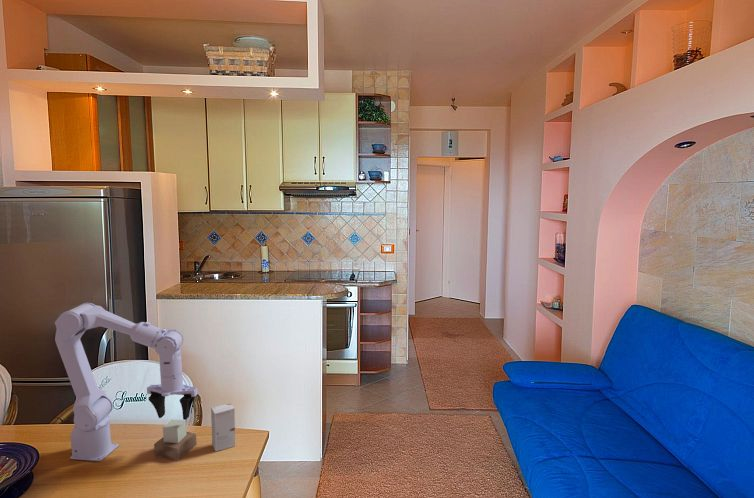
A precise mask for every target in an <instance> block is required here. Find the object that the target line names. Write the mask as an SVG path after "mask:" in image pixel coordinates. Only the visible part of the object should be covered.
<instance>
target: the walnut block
mask: <svg viewBox="0 0 754 498" xmlns="http://www.w3.org/2000/svg"><path fill="white" fill-rule="evenodd" d="M186 433H187V435H186V436H185V437H184V438H183V439H182V440H181V441H180V442H179V443H171V442H164V440H163V437H161V438H160V439H158V440H157V441H155V443H154V444H153V445H154V447H153V448H154V456H155V457H160V458H165V459H170V460H173V461H179V460H180V459H182V458H183V457H184V456H185V455H186V454H188V453H189V452H190V451H191V450H193V449H194V448H195V447H196V446H197V444H198V443H197V434H196V433H194V432H188V431H186Z"/></svg>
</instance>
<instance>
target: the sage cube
mask: <svg viewBox="0 0 754 498" xmlns="http://www.w3.org/2000/svg"><path fill="white" fill-rule="evenodd" d="M186 432H187V421H186V420H183V419H182V420H180V419H170V421H168V422H167V423H166V424H165V425H163V427H162V436H163V437H162V438H163V440H164V442H171V443H179V442H180V441H181V440H182V439H183V438H184V437H185V436H186V435H187V433H186Z"/></svg>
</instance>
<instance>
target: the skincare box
mask: <svg viewBox="0 0 754 498" xmlns="http://www.w3.org/2000/svg"><path fill="white" fill-rule="evenodd" d="M210 410H211V411H210V412H211V413H210V414H211V415H210V418H211V419H210V420H211V421H210V422H211V445H212V448H213V449H214V451H215V452H219V451H222V450H226V449H230V448H234V447H235V446H236V426H235V425H236V417H235V413H236V412H235V407H234V406H233V404H232V403H231V402H229V403H225V404H221V405H217V406H211V407H210Z"/></svg>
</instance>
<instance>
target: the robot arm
mask: <svg viewBox="0 0 754 498" xmlns="http://www.w3.org/2000/svg"><path fill="white" fill-rule="evenodd" d="M54 325H55V327H56V331H55V338H54V341H55V344H56V346H57V350H58V352H59V355H60V358H61V360H62V362H63V363H62V364H63V366H64V368H65V371H66V374H67V377H68V379H69V382H70V383H71V387H72V389H73V392H74V395H75V398H76V399H75V402H74V404H73V407H72V411H73V415H74V416H73V424H74V427H73V428H72V430H71V432H70V445H71V454H72V455H71V456H70V457H69V459H71V460H81V461H92V462H101V461H103V460H104V459H105V458H106V457H107V456H108V455H109V454H110V453H112V452H113V451H114V450H116V448H117V447H119V443H112V435H111V434H112V433H111V426H110V425H111V424H110V423H111V422H110V413H111V412H112V411H113V408H114V403H113V401H112V399H111V398H110V397H109V396H107V393H106V390H104V389H100V388H99V387H98V385H97V381H96V379H95V376H94V373H93V371H92V369H91V366H90V363H89V360H88V357H87V354H86V351H85V348H84V345H83V343H82V340H81V338H82V336H83V335H84V334H85V332H86V331H87V330H92V329H94V328H98V327H102V328H105V329H109V330H112V331H116V332H118V333H121V334H124V335H128V336H130V339H131V341H132V342H135V343H137V344H140V345H143V346H146V347H149V348H151V349H153V350H155V352H156V354H157V355H158V356H159V371H160V372H159V373H160V384H159V383H158V384H150V385H149V386H147V387H146V394H147V395H149V396H148V401H149V402H150V403H151V404H152V406H153V408H154V409H155V411H156V414H157V416H158V419H162V418H163V417H164V416H165V414H166V403H165V402H166V397H169V396H173V395H177V396H178V395H179V396H182V397H181V398H180V399H179V403H180V406H181V410H182V418H183V419H182V420H184V421H186V420H187V419H188V418H190V414H191V408H192V405H193V403H194V401H195V399H196V396H198V394H199V389H198V387H194V386H191V385H187V384H184V383H183V382H184V379H183V365H182V364H183V362H182V361H183V360H182V349H181V347H182V345H183V343H184V336H183V334H182V333H181V332H179V331H178V330H176V329H169V330H168V329H166V328H163V329H162V328H161V327H158V326H155V325H152V322H149V321H146V322H145V321H140V322H138V323H135V322H133V321H131V320H128V319H126V318H123V317H121V316H119V315H116V314H115V313H113V312H110V311H107V310H106V309H105V308H103V306H101V305H96V304H94V303H92V302H84V303H81V304H79V305H78V306H75V307H74V308H72V309H69V310H66V311H63V312H62V313H61V314H60V315H59V316H58V317H57V318H56V320H55V321H54Z"/></svg>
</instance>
